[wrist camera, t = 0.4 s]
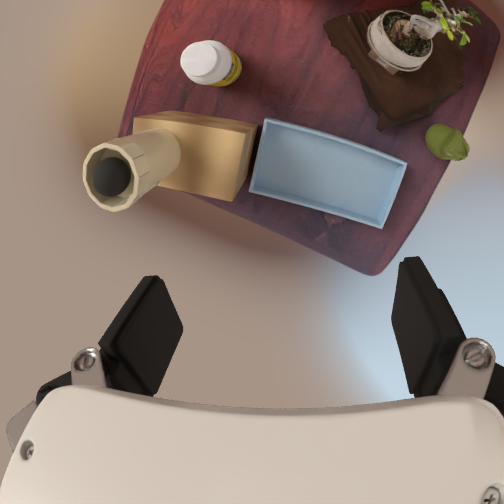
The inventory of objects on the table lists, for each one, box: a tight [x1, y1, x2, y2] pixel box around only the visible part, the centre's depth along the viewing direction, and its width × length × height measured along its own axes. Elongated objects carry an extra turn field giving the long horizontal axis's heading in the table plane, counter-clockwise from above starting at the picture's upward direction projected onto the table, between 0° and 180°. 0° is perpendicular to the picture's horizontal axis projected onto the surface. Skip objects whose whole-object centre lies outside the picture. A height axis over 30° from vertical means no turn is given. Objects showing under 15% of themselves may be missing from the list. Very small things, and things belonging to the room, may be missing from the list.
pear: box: [425, 124, 469, 161], centre depth 32 cm, size 6×5×10 cm
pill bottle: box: [181, 40, 242, 87], centre depth 32 cm, size 6×6×12 cm
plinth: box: [133, 111, 258, 202], centre depth 39 cm, size 15×9×12 cm, turn 78°
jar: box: [83, 127, 181, 212], centre depth 29 cm, size 7×7×11 cm
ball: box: [92, 157, 131, 197], centre depth 25 cm, size 4×4×4 cm
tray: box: [249, 117, 407, 229], centre depth 42 cm, size 23×12×3 cm, turn 78°
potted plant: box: [323, 0, 481, 131], centre depth 22 cm, size 20×19×25 cm
